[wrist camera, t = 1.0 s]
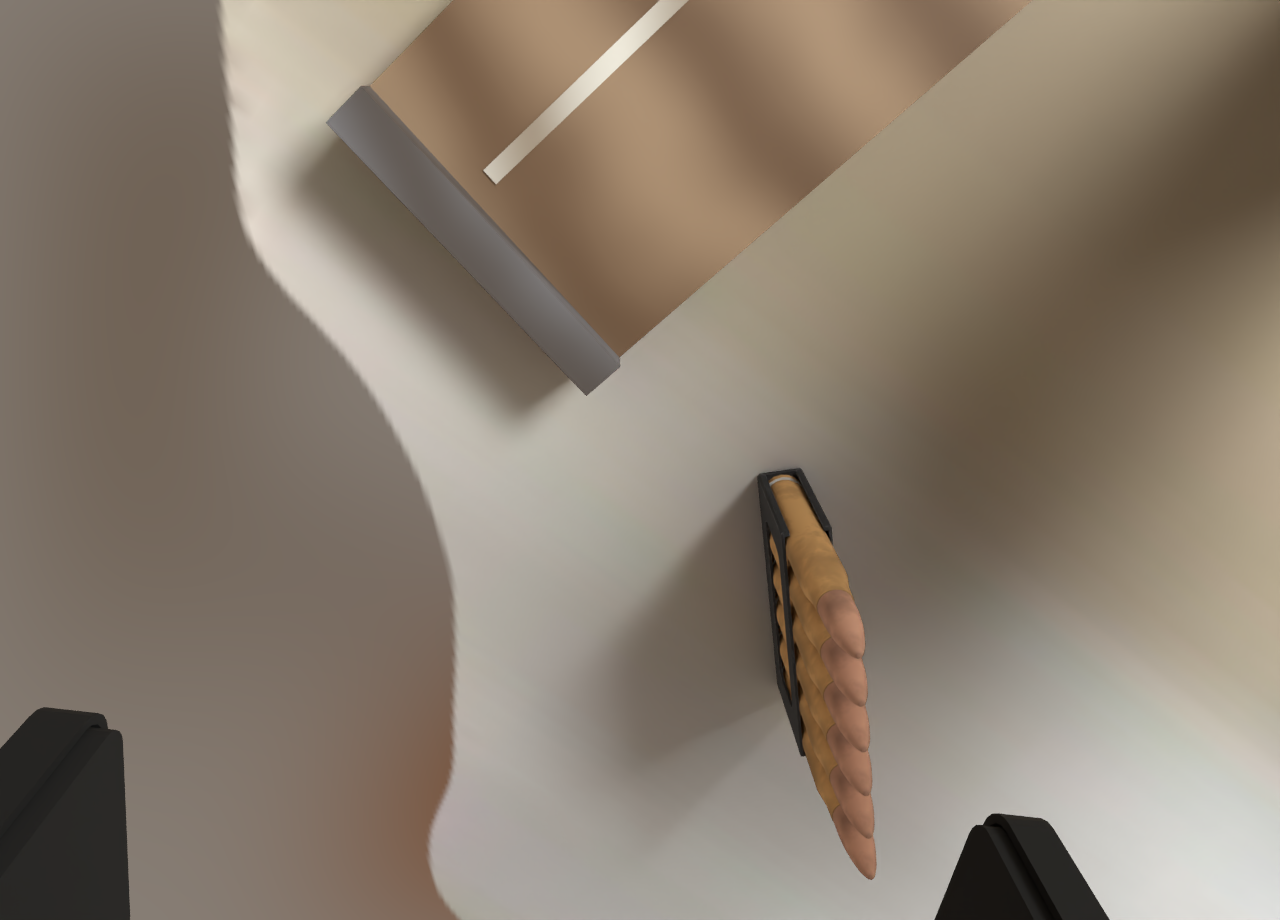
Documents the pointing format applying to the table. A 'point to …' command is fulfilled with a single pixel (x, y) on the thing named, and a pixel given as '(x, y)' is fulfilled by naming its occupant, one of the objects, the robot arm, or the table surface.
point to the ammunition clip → (819, 656)
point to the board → (636, 140)
